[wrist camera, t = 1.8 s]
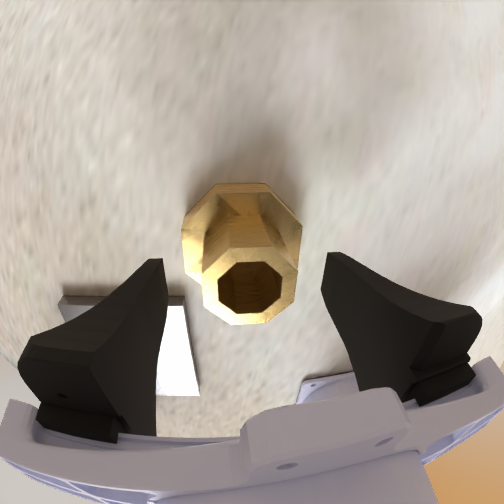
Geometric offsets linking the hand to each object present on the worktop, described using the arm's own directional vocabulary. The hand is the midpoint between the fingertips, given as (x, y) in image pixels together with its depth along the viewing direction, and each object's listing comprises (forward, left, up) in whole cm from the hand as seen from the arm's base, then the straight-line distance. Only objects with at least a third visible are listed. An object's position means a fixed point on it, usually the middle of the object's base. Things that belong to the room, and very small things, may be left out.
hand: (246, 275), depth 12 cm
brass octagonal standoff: (0, 0, -4) cm, 4 cm away
